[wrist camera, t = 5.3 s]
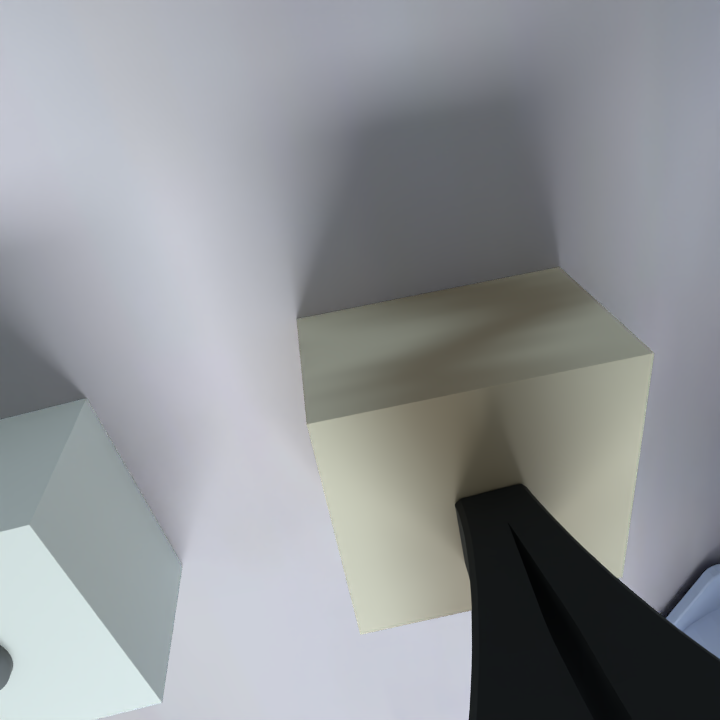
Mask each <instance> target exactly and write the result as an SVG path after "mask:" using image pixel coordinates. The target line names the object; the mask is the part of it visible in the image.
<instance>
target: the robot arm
mask: <svg viewBox="0 0 720 720" xmlns="http://www.w3.org/2000/svg"><path fill="white" fill-rule="evenodd" d="M455 509H456V515H457V520H458V526H459V532H460V538H461V543H462V549H463V555H464V561H465V565H466V569H467V572H468V575H469V579H470V589H471V605H472V673H471V694H470V711H469V720H720V564H717V565H714V566H711V567H710V568H708V569H707V570H706V571H704V573H703V574H702V575H701V576H700V577H699V579H698V580H697V581H696V582H695V583H694V585H693V586H692V587H691V588H690V590H689V591H688V592H687V593H686V594H685V596H684V597H683V598H682V599H681V601H680V602H679V603H678V604H677V605H676V607H675V608H674V609H673V610H672V612H671V613H670V614H669V615H668V616H667V618H664V617H663V616H662V615H661V614H659V613H658V612H657V611H656V610H654V609H653V608H652V607H651V606H649V605H648V604H647V603H646V602H645V601H644V600H642V599H641V598H640V597H639V596H638V595H636V594H635V593H634V592H633V591H632V590H630V589H629V588H628V587H627V586H626V585H625V584H623V583H622V582H621V581H620V580H619V579H618V578H617V577H615V576H614V575H613V574H612V573H611V572H610V571H609V570H608V569H607V568H605V567H604V566H603V565H602V564H601V563H600V562H599V561H598V560H597V559H596V558H595V557H594V556H593V555H591V554H590V553H589V552H588V551H587V550H586V549H585V548H584V547H583V546H582V545H581V544H580V543H579V542H578V541H577V540H576V539H575V538H574V537H573V536H572V535H571V534H570V533H569V532H568V531H567V530H566V529H565V528H564V527H563V526H562V525H561V524H560V523H559V522H558V521H557V520H556V519H555V518H554V517H553V516H552V515H551V514H550V513H549V512H548V511H547V510H546V508H545V507H544V506H543V505H542V504H541V503H540V502H539V501H538V500H537V499H536V497H535V496H534V495H533V494H532V493H531V492H530V490H529V489H528V488H527V487H526V486H524V485H523V484H521V483H520V484H516V485H512V486H508V487H504V488H500V489H496V490H492V491H488V492H484V493H480V494H476V495H473V496H469V497H465V498H461V499H459V500H458V501H457V502H456V503H455Z"/></svg>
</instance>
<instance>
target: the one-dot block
mask: <svg viewBox="0 0 720 720" xmlns="http://www.w3.org/2000/svg"><path fill="white" fill-rule="evenodd" d="M181 572H182V564H181V562H180V561H179V559H178V557H177V555H176V554H175V552H174V550H173V548H172V547H171V545H170V543H169V541H168V540H167V538H166V536H165V534H164V533H163V531H162V529H161V527H160V526H159V524H158V522H157V520H156V519H155V517H154V515H153V513H152V512H151V510H150V508H149V506H148V505H147V503H146V501H145V499H144V498H143V496H142V494H141V492H140V491H139V489H138V487H137V485H136V484H135V482H134V480H133V478H132V477H131V475H130V473H129V471H128V470H127V468H126V466H125V464H124V463H123V461H122V459H121V457H120V456H119V454H118V452H117V450H116V449H115V447H114V445H113V443H112V442H111V440H110V438H109V436H108V435H107V433H106V431H105V429H104V428H103V426H102V424H101V422H100V421H99V419H98V417H97V415H96V414H95V412H94V410H93V408H92V407H91V405H90V403H89V401H88V400H87V398H85V399H81V400H77V401H73V402H69V403H64V404H60V405H56V406H52V407H48V408H44V409H40V410H36V411H32V412H28V413H24V414H20V415H16V416H12V417H8V418H4V419H0V720H96V719H100V718H104V717H108V716H112V715H116V714H119V713H123V712H127V711H131V710H135V709H139V708H143V707H147V706H151V705H155V704H159V703H162V700H163V694H164V687H165V680H166V673H167V667H168V660H169V653H170V647H171V640H172V633H173V626H174V620H175V613H176V606H177V599H178V593H179V586H180V579H181Z"/></svg>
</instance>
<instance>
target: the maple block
mask: <svg viewBox="0 0 720 720" xmlns="http://www.w3.org/2000/svg"><path fill="white" fill-rule="evenodd" d="M297 328H298V338H299V349H300V359H301V370H302V380H303V390H304V401H305V411H306V422H307V427H308V431H309V435H310V439H311V443H312V447H313V451H314V455H315V459H316V463H317V466H318V470H319V474H320V478H321V482H322V486H323V490H324V494H325V498H326V502H327V506H328V510H329V514H330V518H331V521H332V525H333V529H334V533H335V537H336V541H337V545H338V549H339V553H340V557H341V561H342V565H343V569H344V572H345V576H346V580H347V584H348V588H349V592H350V596H351V600H352V604H353V608H354V612H355V616H356V620H357V624H358V627H359V631H360V635H361V634H366V633H370V632H375V631H379V630H384V629H389V628H393V627H398V626H402V625H407V624H411V623H416V622H421V621H425V620H430V619H434V618H439V617H443V616H448V615H453V614H457V613H462V612H466V611H471V610H472V605H471V589H470V579H469V575H468V572H467V569H466V565H465V561H464V555H463V549H462V543H461V538H460V532H459V526H458V520H457V515H456V509H455V503H456V502H457V501H458V500H459V499H461V498H465V497H469V496H473V495H476V494H480V493H484V492H488V491H492V490H496V489H500V488H504V487H508V486H512V485H516V484H520V483H521V484H523V485H524V486H526V487H527V488H528V489H529V490H530V492H531V493H532V494H533V495H534V496H535V497H536V499H537V500H538V501H539V502H540V503H541V504H542V505H543V506H544V507H545V508H546V510H547V511H548V512H549V513H550V514H551V515H552V516H553V517H554V518H555V519H556V520H557V521H558V522H559V523H560V524H561V525H562V526H563V527H564V528H565V529H566V530H567V531H568V532H569V533H570V534H571V535H572V536H573V537H574V538H575V539H576V540H577V541H578V542H579V543H580V544H581V545H582V546H583V547H584V548H585V549H586V550H587V551H588V552H589V553H590V554H591V555H593V556H594V557H595V558H596V559H597V560H598V561H599V562H600V563H601V564H602V565H603V566H604V567H605V568H607V569H608V570H609V571H610V572H611V573H612V574H613V575H614V576H615V577H617V578H622V576H623V569H624V562H625V555H626V548H627V541H628V534H629V527H630V520H631V513H632V506H633V499H634V492H635V485H636V478H637V471H638V464H639V457H640V449H641V442H642V435H643V428H644V421H645V414H646V407H647V400H648V393H649V386H650V379H651V372H652V365H653V358H654V352H653V351H651V350H650V349H649V348H648V347H647V346H646V345H645V344H644V343H643V342H642V341H640V340H639V339H638V338H637V337H636V336H635V335H634V334H633V333H632V332H631V331H629V330H628V329H627V328H626V327H625V326H624V325H623V324H622V323H621V322H620V321H618V320H617V319H616V318H615V317H614V316H613V315H612V314H611V313H610V312H609V311H607V310H606V309H605V308H604V307H603V306H602V305H601V304H600V303H599V302H597V301H596V300H595V299H594V298H593V297H592V296H591V295H590V294H589V293H588V292H586V291H585V290H584V289H583V288H582V287H581V286H580V285H579V284H578V283H577V282H575V281H574V280H573V279H572V278H571V277H570V276H569V275H568V274H567V273H566V272H564V271H563V270H562V269H561V268H560V267H556V268H551V269H546V270H541V271H536V272H531V273H526V274H521V275H516V276H511V277H506V278H500V279H495V280H490V281H485V282H480V283H475V284H470V285H465V286H460V287H455V288H450V289H445V290H440V291H435V292H430V293H425V294H420V295H415V296H410V297H405V298H399V299H394V300H389V301H384V302H379V303H374V304H369V305H364V306H359V307H354V308H349V309H344V310H339V311H334V312H329V313H324V314H319V315H314V316H309V317H304V318H299V319H297Z"/></svg>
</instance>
